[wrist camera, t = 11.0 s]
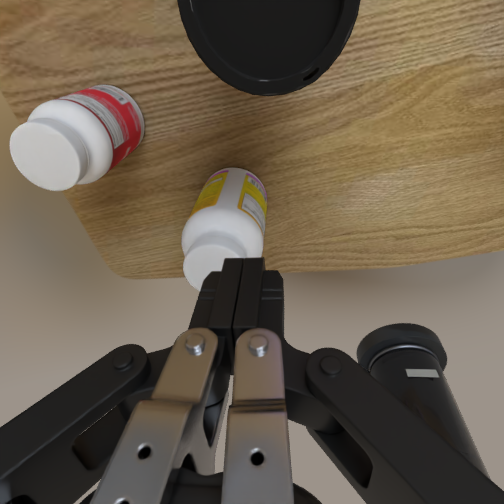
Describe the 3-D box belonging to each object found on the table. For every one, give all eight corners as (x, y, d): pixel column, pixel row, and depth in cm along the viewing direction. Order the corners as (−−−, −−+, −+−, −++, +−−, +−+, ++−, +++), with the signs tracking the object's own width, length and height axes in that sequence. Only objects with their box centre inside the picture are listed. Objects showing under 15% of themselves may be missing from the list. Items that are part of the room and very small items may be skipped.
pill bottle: (100, 158, 34) (32, 208, 25) (68, 93, 31) (-24, 123, 22) (157, 144, 33) (106, 192, 24) (129, 75, 30) (59, 99, 20)
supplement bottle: (200, 217, 37) (165, 296, 26) (208, 158, 33) (171, 222, 23) (260, 230, 37) (249, 314, 27) (275, 173, 33) (269, 244, 23)
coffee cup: (261, 90, 29) (243, 140, 17) (198, -10, 26) (116, -39, 13) (351, 21, 26) (410, 21, 14) (292, -104, 23) (300, -255, 10)
